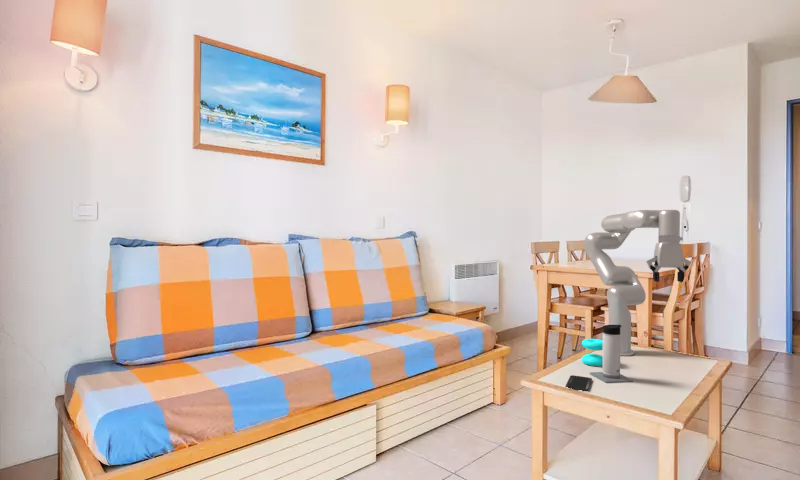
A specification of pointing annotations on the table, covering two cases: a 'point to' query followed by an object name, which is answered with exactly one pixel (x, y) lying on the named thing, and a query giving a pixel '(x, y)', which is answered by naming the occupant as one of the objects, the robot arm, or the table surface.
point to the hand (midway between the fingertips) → (668, 281)
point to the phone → (579, 383)
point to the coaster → (611, 380)
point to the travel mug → (611, 351)
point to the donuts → (593, 358)
